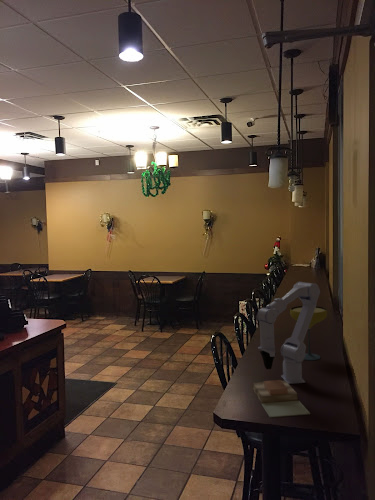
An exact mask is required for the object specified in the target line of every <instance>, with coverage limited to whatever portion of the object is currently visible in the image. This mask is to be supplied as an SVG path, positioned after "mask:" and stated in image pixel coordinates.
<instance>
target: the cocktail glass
mask: <svg viewBox="0 0 375 500" xmlns="http://www.w3.org/2000/svg"><path fill="white" fill-rule="evenodd" d="M302 306H303V305H297V306H293V307H291V308H290V309H289V310H290V311H289V315H290V318H292V319H293V320H294V321H296V322H297V320H298V317H299V314H300V312H301V309H302ZM327 316H328V311H327V308H326V307H323V306H322V307H321V306H318V305H316V308H315V310H314V313H313V316H312V319H311V321H310V324H309V327H308V330H307V333H308V334H307V336H308V350H307V353H306V352H305V358H304V360H303V361H319V360H320V359H321V356H320V355H319V354H315V353H312V352H311V351H312V350H311V338H310V333H311V332H310V331H311V330H310V329H311V328H312V327H313V326H315V325H316V324H319V323H321V322H322V321H324V320H325V319H327Z"/></svg>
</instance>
